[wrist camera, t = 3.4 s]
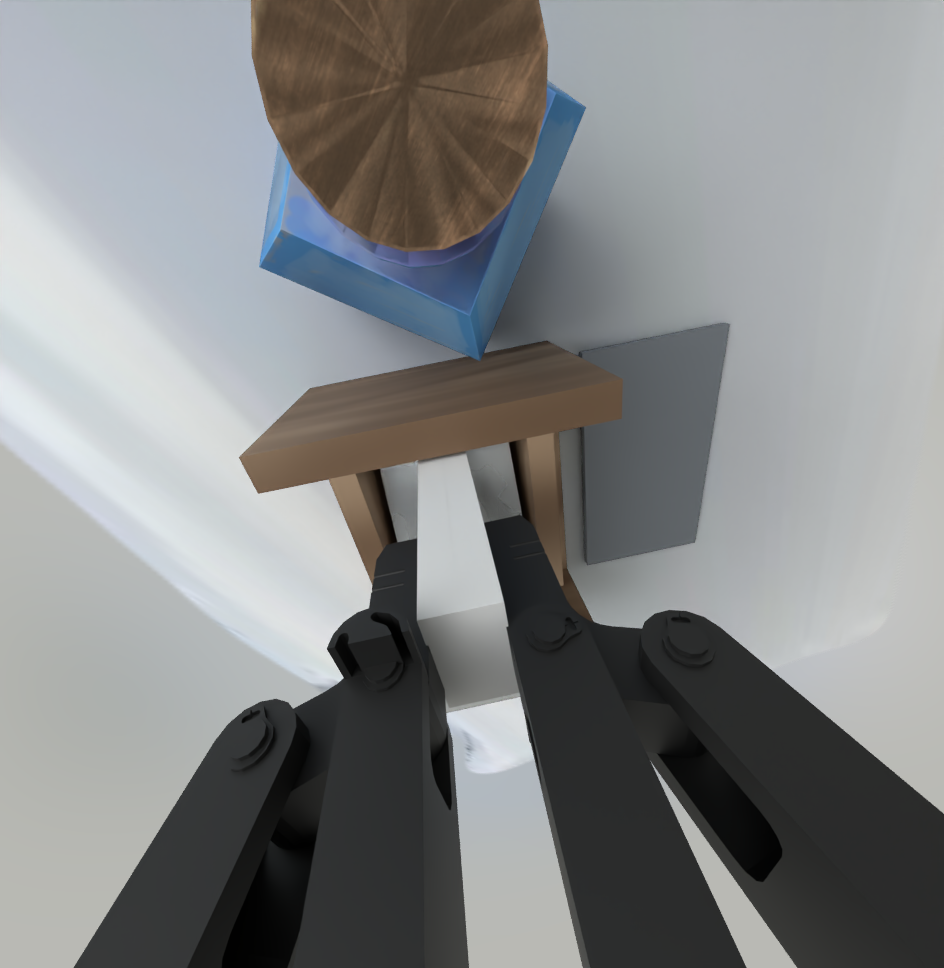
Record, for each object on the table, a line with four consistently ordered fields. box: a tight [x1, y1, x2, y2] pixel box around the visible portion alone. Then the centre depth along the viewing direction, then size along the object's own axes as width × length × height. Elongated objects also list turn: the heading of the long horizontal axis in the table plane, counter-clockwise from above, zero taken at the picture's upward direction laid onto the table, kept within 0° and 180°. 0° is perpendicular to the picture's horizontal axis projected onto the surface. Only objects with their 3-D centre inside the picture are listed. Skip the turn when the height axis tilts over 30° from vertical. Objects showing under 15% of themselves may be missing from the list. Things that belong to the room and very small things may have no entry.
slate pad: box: [579, 323, 730, 565], centre depth 21 cm, size 13×7×1 cm, turn 10°
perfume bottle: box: [251, 0, 586, 361], centre depth 9 cm, size 6×6×12 cm
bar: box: [380, 442, 522, 713], centre depth 16 cm, size 10×5×4 cm, turn 10°
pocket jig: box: [239, 341, 623, 622], centre depth 17 cm, size 14×11×8 cm
